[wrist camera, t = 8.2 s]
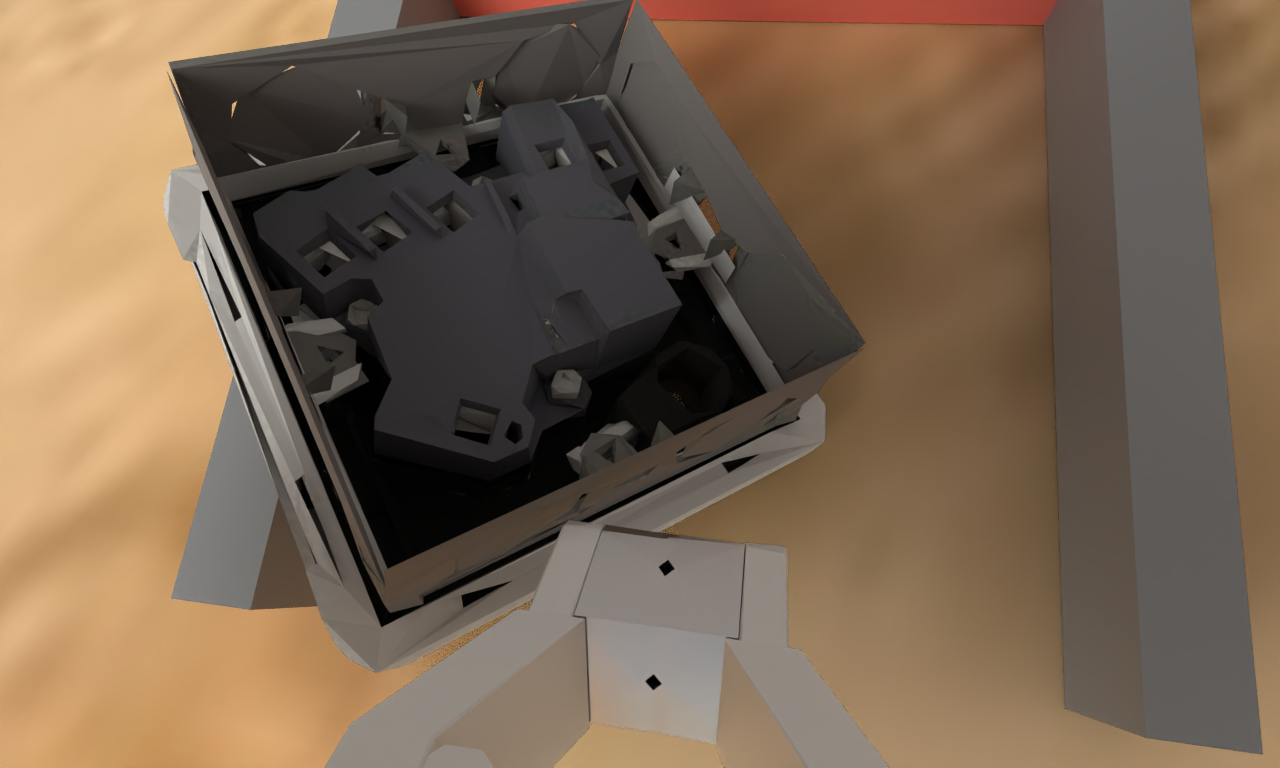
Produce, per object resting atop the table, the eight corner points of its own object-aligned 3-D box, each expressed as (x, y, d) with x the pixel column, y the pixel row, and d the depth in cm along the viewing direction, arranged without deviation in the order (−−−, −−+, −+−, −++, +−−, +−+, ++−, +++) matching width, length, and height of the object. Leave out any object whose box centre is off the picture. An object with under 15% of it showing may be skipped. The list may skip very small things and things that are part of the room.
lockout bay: (1158, 721, 12) (1262, 754, 10) (260, 596, 15) (170, 598, 12) (1111, -28, 16) (1177, -133, 14) (416, -31, 19) (371, -121, 16)
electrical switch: (831, 457, 14) (601, 166, 18) (973, 285, 10) (633, -48, 14) (364, 712, 10) (196, 274, 14) (274, 606, 6) (68, 21, 10)
